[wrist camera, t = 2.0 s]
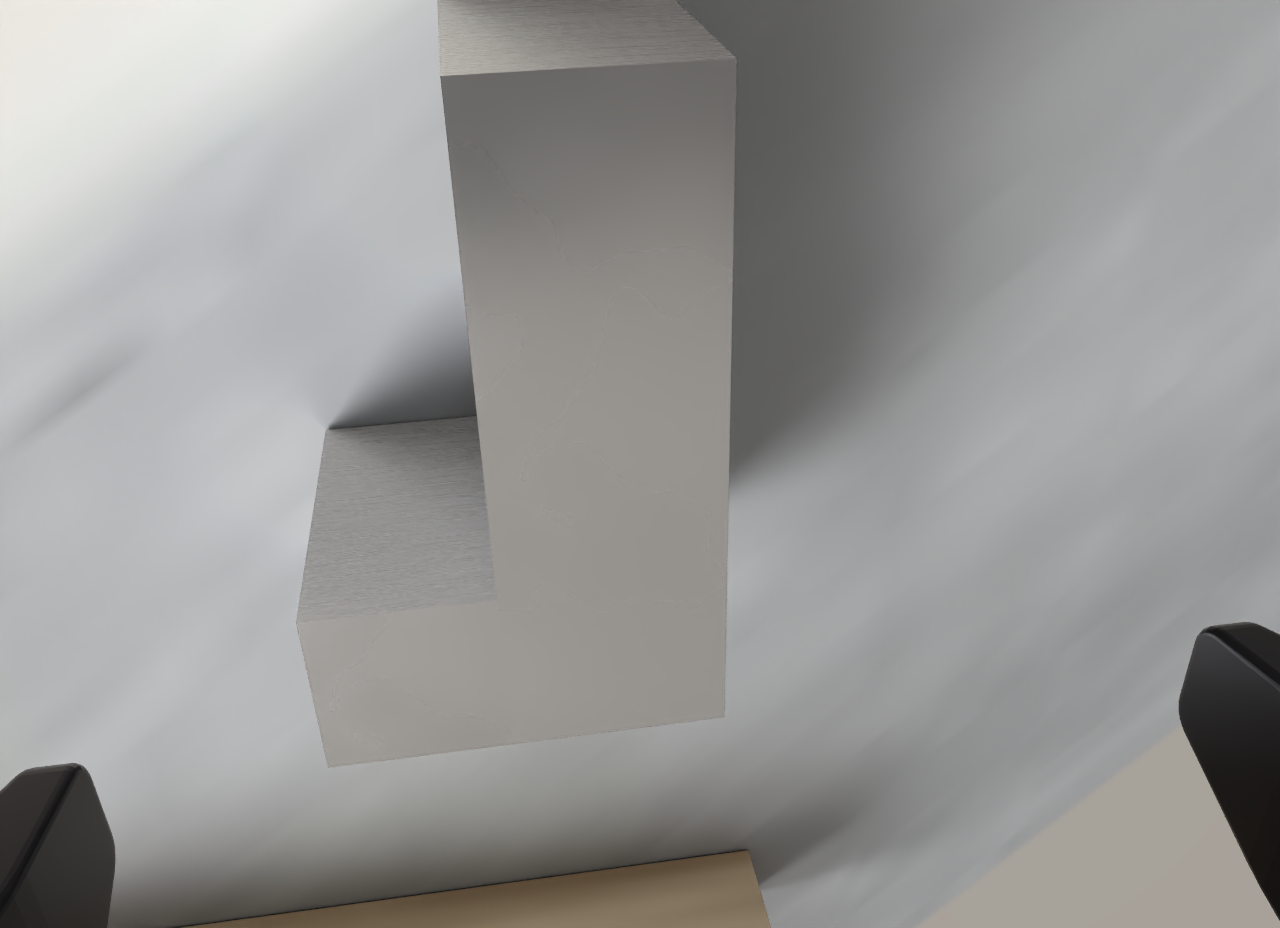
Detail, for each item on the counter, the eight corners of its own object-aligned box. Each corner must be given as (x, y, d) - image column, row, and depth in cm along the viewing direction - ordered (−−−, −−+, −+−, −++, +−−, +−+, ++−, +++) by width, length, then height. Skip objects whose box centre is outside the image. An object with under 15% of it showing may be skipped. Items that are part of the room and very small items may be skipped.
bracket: (664, 523, 21) (724, 716, 17) (348, 556, 20) (327, 767, 16) (655, -19, 16) (737, 59, 12) (246, 2, 16) (177, 91, 11)
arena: (746, 896, 26) (793, 1064, 23) (-370, 1053, 24) (-505, 1270, 20) (781, -63, 16) (873, -18, 13) (-1170, 25, 13) (-1712, 112, 10)
